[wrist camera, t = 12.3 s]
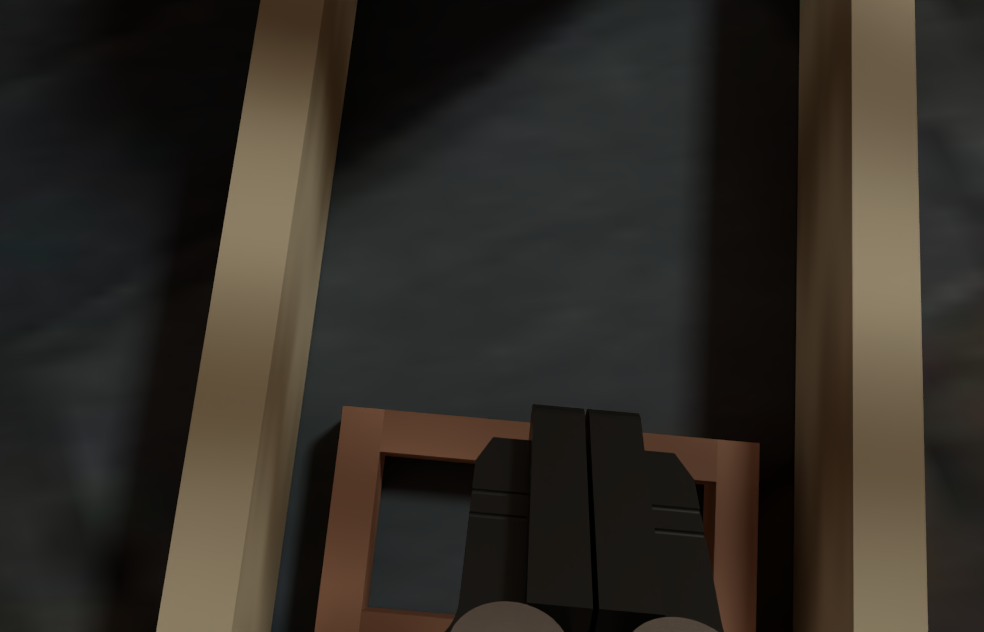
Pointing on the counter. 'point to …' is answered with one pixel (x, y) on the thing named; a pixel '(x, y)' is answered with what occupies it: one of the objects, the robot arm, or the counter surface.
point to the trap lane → (378, 433)
